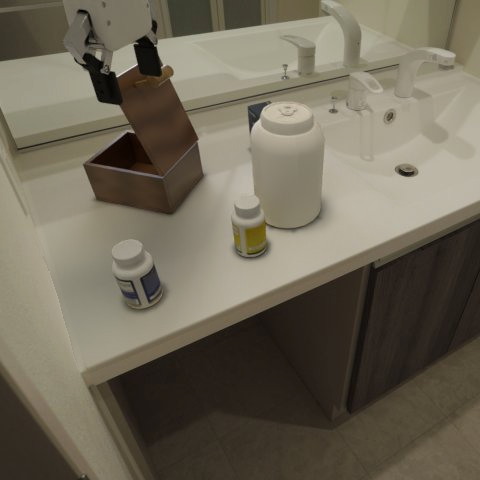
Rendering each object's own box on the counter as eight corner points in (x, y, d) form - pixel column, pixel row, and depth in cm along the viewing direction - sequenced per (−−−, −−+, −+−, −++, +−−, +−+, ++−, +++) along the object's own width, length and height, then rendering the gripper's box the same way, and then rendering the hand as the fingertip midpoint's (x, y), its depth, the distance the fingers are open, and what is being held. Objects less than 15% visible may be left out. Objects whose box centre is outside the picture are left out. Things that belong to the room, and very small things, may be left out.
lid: (105, 82, 62) (134, 75, 60) (153, 53, 72) (179, 46, 70) (160, 177, 72) (185, 173, 70) (195, 139, 81) (219, 136, 80)
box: (250, 149, 95) (246, 105, 88) (272, 143, 98) (270, 100, 91) (265, 165, 91) (263, 120, 84) (288, 159, 93) (288, 114, 86)
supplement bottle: (272, 241, 73) (269, 195, 66) (258, 261, 69) (255, 215, 62) (244, 233, 74) (239, 188, 67) (229, 253, 70) (222, 207, 64)
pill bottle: (159, 278, 65) (144, 231, 59) (166, 302, 62) (151, 256, 55) (123, 288, 63) (103, 241, 57) (128, 314, 60) (107, 267, 53)
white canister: (258, 189, 84) (252, 92, 71) (320, 190, 85) (325, 95, 71) (251, 229, 75) (242, 127, 61) (321, 231, 75) (327, 130, 62)
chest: (96, 199, 79) (82, 164, 74) (136, 163, 89) (126, 129, 84) (171, 214, 77) (162, 179, 72) (203, 175, 87) (197, 141, 82)
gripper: (107, -81, 51) (141, 63, 62) (-4, -65, 38) (64, 111, 50) (164, -76, 50) (188, 69, 61) (69, -58, 37) (121, 120, 49)
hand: (132, 88), depth 56 cm, fingers open, 9 cm apart
